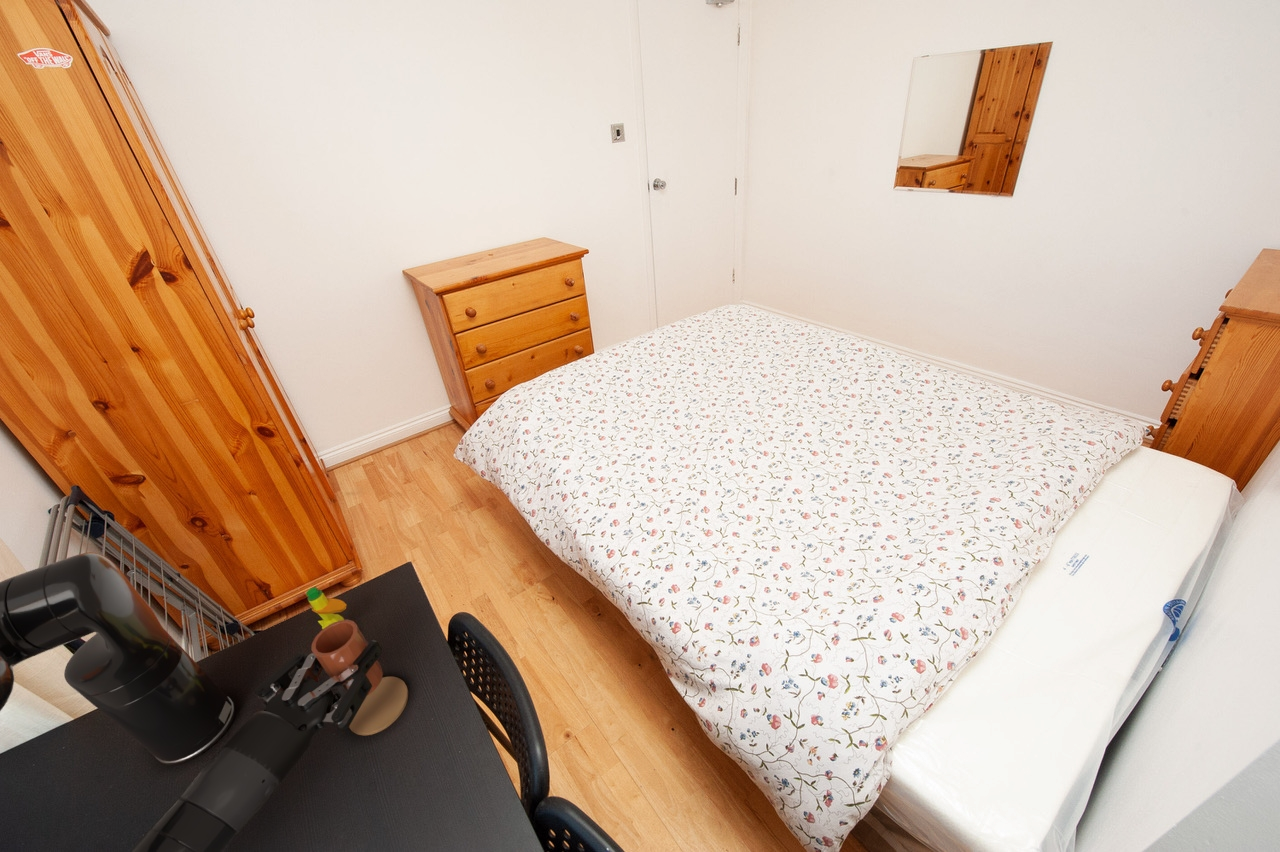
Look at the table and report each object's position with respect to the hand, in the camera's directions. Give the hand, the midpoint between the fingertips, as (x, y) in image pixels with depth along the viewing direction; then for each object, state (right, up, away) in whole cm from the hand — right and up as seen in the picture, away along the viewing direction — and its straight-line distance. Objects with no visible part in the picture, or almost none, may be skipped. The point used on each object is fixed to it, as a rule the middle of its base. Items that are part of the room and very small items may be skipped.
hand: (360, 639), depth 69 cm
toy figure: (-11, -6, +15) cm, 20 cm away
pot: (0, -6, +1) cm, 7 cm away
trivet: (0, -12, +5) cm, 13 cm away
